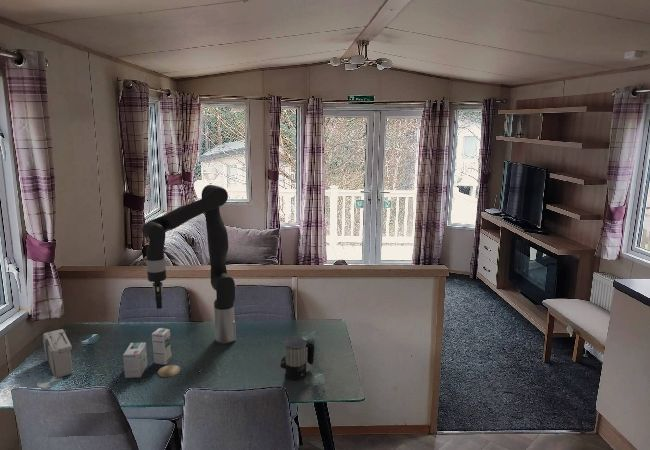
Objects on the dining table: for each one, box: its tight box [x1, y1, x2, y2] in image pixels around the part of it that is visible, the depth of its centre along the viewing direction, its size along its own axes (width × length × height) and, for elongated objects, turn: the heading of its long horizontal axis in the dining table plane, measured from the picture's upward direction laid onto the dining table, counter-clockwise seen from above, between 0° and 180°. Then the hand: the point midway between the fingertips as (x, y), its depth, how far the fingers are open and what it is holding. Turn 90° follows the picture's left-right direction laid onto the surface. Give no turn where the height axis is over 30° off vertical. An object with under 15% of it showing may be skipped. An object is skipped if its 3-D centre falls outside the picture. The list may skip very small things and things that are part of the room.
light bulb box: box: [122, 342, 148, 379], centre depth 205 cm, size 11×7×11 cm, turn 5°
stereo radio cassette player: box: [42, 328, 74, 379], centre depth 206 cm, size 21×8×20 cm, turn 37°
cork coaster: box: [157, 364, 181, 378], centre depth 206 cm, size 9×9×1 cm
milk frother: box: [280, 337, 315, 381], centre depth 206 cm, size 14×16×15 cm
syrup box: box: [151, 327, 173, 366], centre depth 212 cm, size 6×6×14 cm
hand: (159, 304), depth 208 cm, fingers open, 8 cm apart
